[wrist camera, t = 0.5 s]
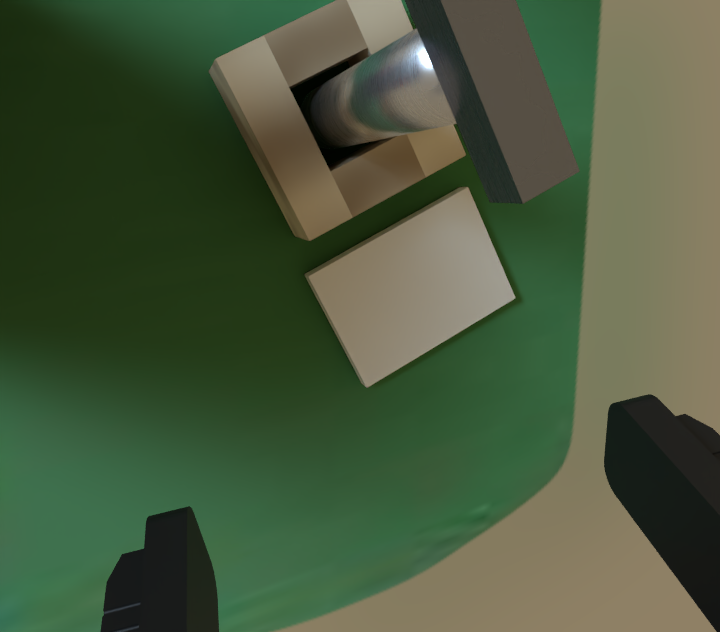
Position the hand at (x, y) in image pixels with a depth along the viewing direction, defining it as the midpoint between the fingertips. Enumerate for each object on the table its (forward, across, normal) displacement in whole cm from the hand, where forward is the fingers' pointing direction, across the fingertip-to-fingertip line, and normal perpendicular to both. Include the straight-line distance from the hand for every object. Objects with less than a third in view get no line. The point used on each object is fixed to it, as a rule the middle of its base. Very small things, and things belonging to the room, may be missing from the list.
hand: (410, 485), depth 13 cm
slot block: (+26, -3, 0) cm, 26 cm away
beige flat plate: (+24, -6, +9) cm, 26 cm away
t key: (+26, -3, 0) cm, 26 cm away
